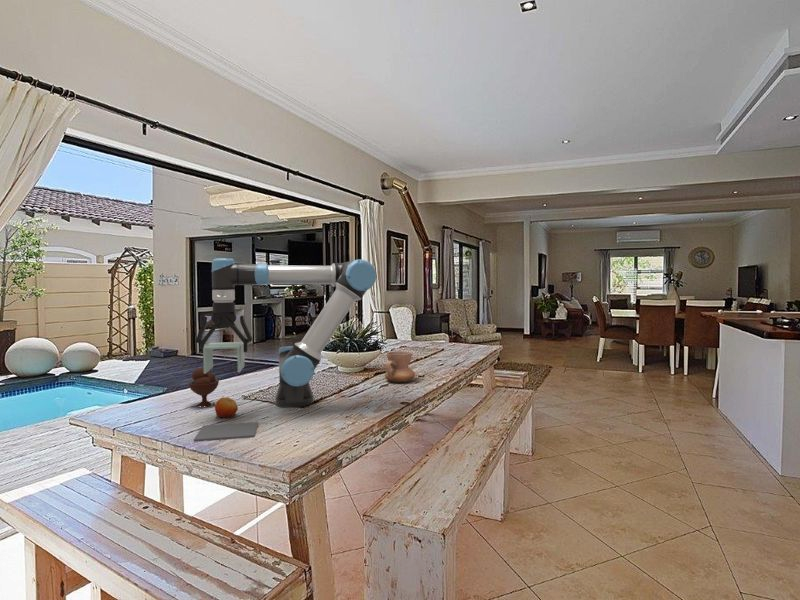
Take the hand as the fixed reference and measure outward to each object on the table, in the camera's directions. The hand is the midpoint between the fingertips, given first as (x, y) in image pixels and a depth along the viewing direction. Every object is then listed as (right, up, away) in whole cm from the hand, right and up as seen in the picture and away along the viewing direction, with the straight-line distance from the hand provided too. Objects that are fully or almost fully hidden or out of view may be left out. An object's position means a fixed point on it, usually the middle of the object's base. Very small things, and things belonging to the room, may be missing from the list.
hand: (224, 361), depth 168 cm
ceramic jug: (+63, -17, +59) cm, 87 cm away
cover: (0, -3, 0) cm, 3 cm away
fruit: (0, -21, +3) cm, 21 cm away
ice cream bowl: (-15, -20, +18) cm, 30 cm away
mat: (+6, -21, -14) cm, 26 cm away
